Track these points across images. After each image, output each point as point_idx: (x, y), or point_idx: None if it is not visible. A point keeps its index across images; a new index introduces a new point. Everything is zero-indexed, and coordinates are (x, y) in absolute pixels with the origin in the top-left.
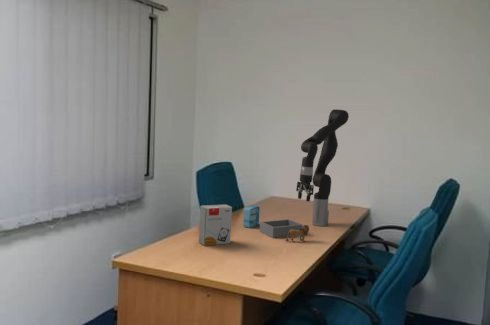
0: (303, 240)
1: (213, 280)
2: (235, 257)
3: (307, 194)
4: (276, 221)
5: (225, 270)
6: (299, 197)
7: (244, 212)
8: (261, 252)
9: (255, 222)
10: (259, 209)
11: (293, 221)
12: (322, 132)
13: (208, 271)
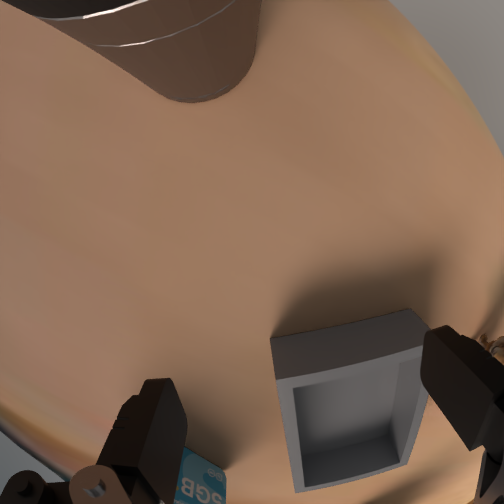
0: (486, 343)
1: None
2: (454, 485)
3: (502, 455)
4: (299, 443)
5: None
6: (177, 426)
7: None
8: (468, 454)
9: (186, 461)
10: None
11: (349, 369)
12: None
13: (469, 496)
